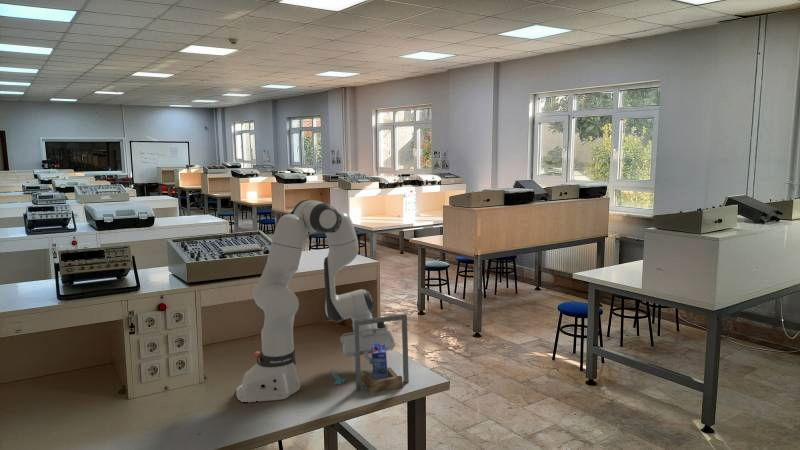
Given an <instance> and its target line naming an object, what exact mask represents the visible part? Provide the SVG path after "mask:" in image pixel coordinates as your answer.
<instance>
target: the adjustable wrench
mask: <svg viewBox="0 0 800 450" xmlns="http://www.w3.org/2000/svg"><path fill="white" fill-rule="evenodd" d="M328 371H329V373H330V374H331V376H332V377H333V378H334V379H335V382H333V385H340V386H341V385H342V384H345V383H346V382H347V379H346V378H341V377H340V376H339V375H338V374H337V373H336V372H335V371H334V370H332V369H331V370H328Z"/></svg>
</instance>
